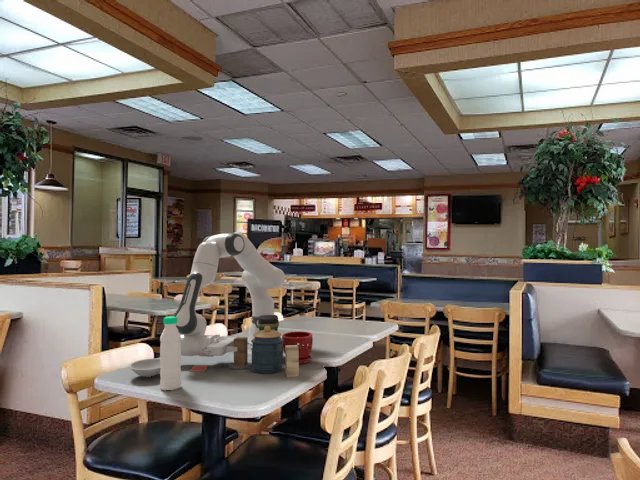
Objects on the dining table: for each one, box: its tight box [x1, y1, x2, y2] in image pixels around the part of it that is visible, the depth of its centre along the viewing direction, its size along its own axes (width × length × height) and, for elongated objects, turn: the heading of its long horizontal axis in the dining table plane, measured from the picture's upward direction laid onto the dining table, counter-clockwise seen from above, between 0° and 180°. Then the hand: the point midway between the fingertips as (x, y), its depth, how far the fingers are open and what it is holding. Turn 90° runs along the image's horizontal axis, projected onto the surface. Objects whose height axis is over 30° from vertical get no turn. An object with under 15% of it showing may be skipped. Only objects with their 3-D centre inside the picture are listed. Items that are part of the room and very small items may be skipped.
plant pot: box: [281, 331, 314, 365], centre depth 206 cm, size 13×13×12 cm
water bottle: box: [159, 315, 182, 391], centre depth 169 cm, size 7×7×25 cm
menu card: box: [189, 364, 210, 373], centre depth 195 cm, size 9×6×1 cm, turn 4°
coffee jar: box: [258, 314, 280, 332], centre depth 217 cm, size 10×8×19 cm
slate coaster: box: [228, 361, 252, 370], centre depth 199 cm, size 10×10×1 cm
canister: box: [250, 326, 285, 374], centre depth 193 cm, size 13×13×18 cm
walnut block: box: [233, 336, 249, 366], centre depth 199 cm, size 4×4×11 cm
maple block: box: [284, 344, 300, 378], centre depth 185 cm, size 4×4×11 cm
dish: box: [128, 358, 161, 378], centre depth 184 cm, size 18×14×5 cm
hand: (241, 346), depth 199 cm, fingers open, 8 cm apart
